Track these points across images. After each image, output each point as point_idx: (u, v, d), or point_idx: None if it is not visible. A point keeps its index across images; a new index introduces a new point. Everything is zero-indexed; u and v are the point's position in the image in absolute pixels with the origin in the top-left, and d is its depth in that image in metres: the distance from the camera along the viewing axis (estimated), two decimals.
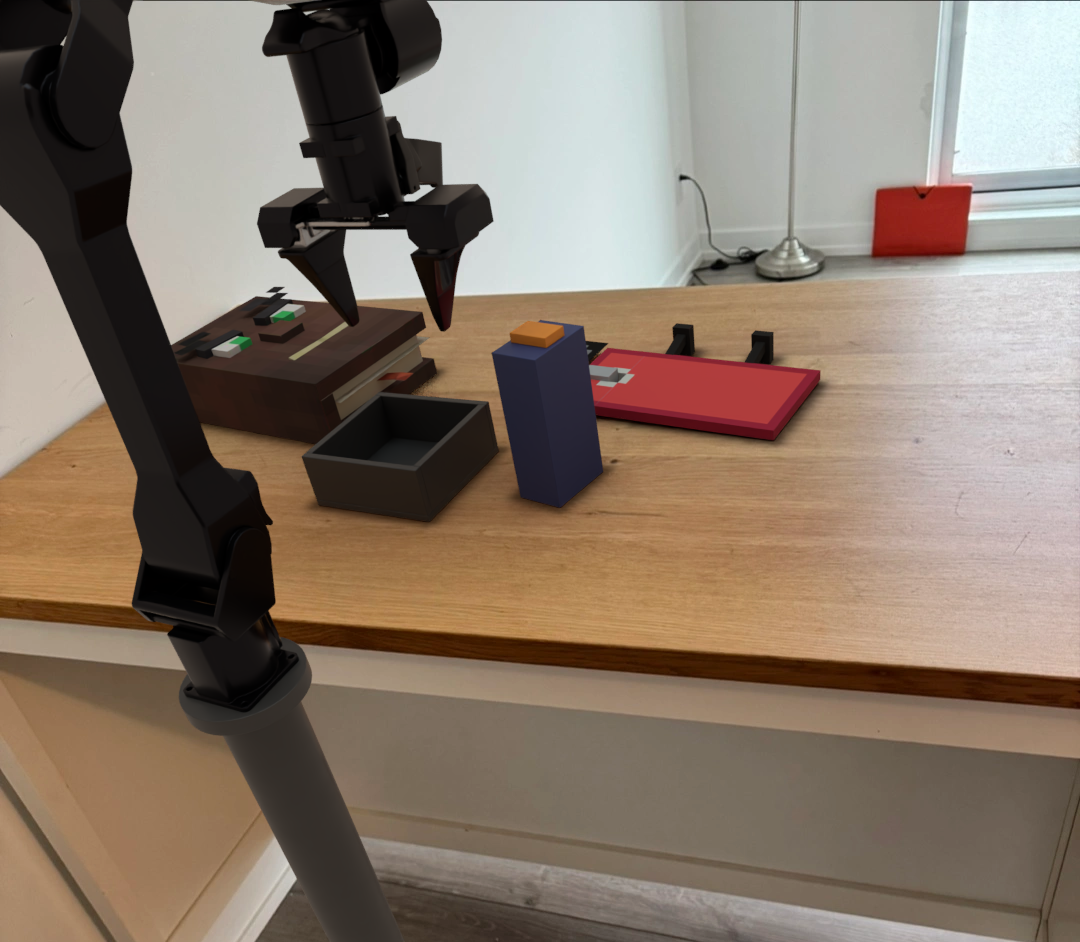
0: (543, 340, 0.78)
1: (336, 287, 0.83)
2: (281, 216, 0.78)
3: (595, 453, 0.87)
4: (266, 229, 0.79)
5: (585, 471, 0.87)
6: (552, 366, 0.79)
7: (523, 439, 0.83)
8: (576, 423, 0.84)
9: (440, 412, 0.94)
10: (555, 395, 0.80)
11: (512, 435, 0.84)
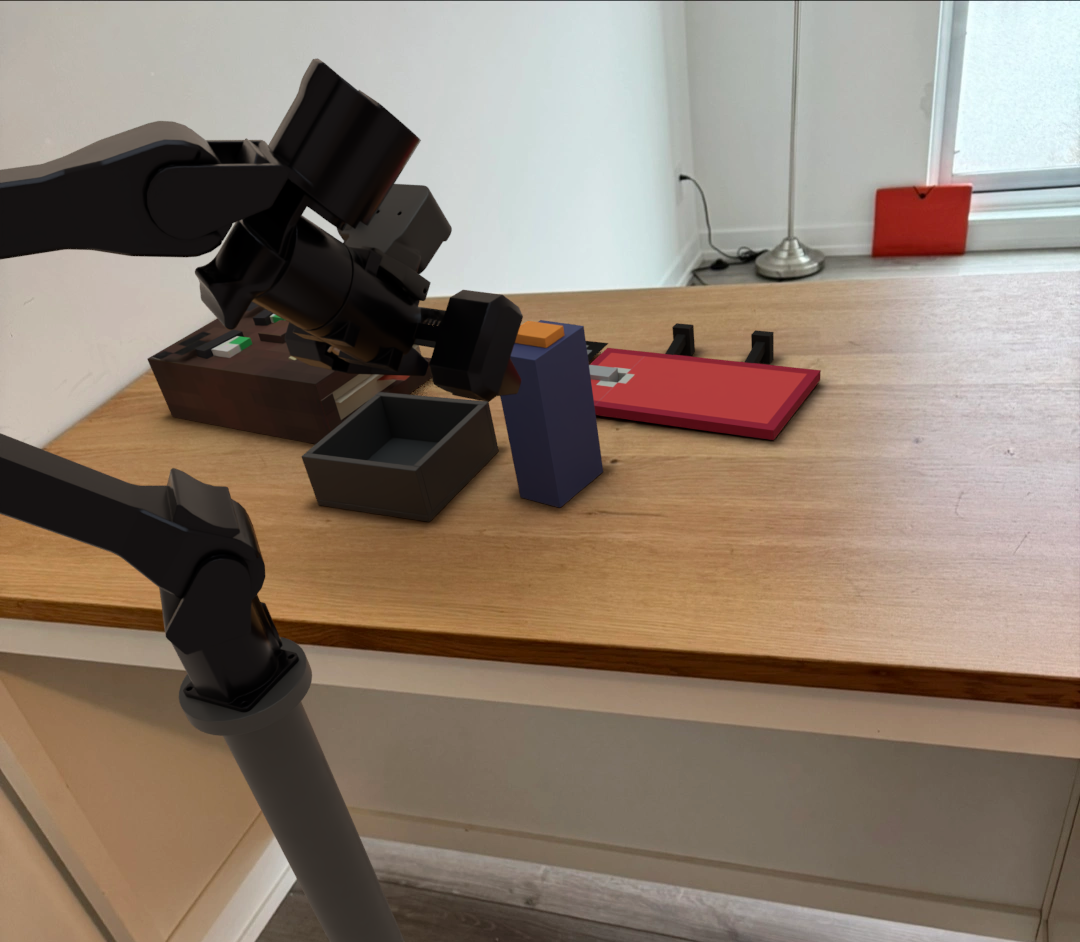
0: (543, 340, 0.78)
1: None
2: (309, 352, 0.71)
3: (595, 453, 0.87)
4: (301, 359, 0.73)
5: (585, 471, 0.87)
6: (552, 366, 0.79)
7: (523, 439, 0.83)
8: (576, 423, 0.84)
9: (440, 412, 0.94)
10: (555, 395, 0.80)
11: (512, 435, 0.84)
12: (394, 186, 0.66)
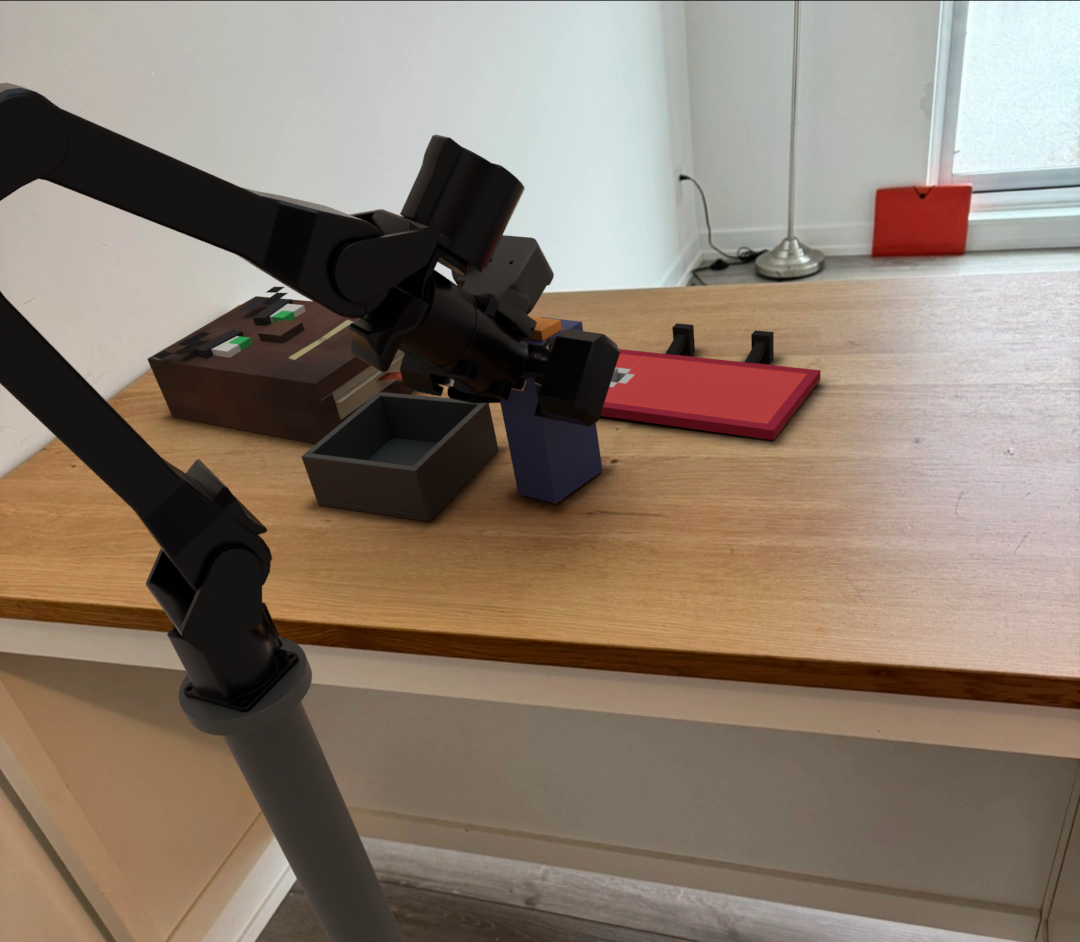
0: (539, 333, 0.79)
1: None
2: (423, 382, 0.81)
3: (594, 451, 0.87)
4: (414, 387, 0.82)
5: (583, 469, 0.87)
6: None
7: (520, 433, 0.84)
8: None
9: (440, 412, 0.94)
10: None
11: (510, 430, 0.84)
12: (504, 237, 0.75)
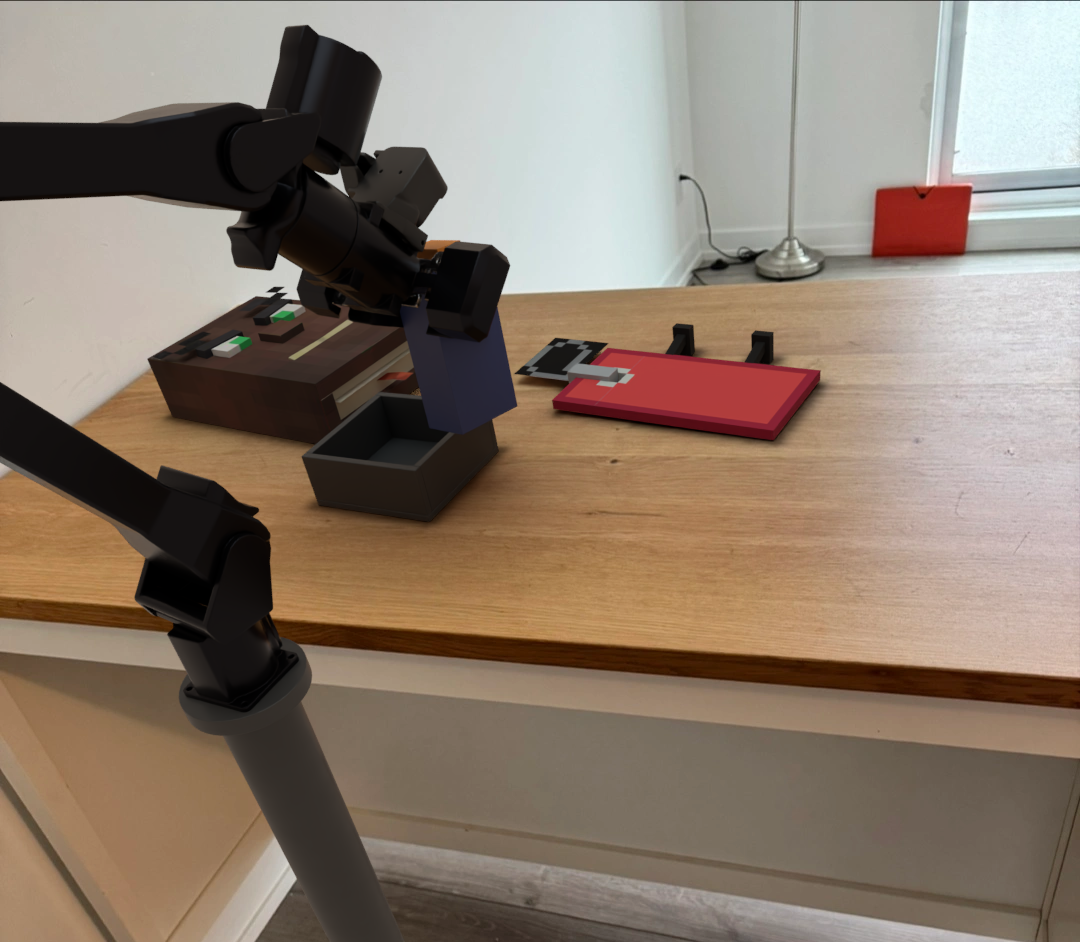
0: (436, 252, 0.77)
1: None
2: (319, 301, 0.79)
3: (506, 383, 0.85)
4: (312, 308, 0.80)
5: (494, 401, 0.85)
6: None
7: (424, 360, 0.82)
8: (480, 346, 0.82)
9: None
10: None
11: (415, 358, 0.82)
12: (396, 148, 0.73)
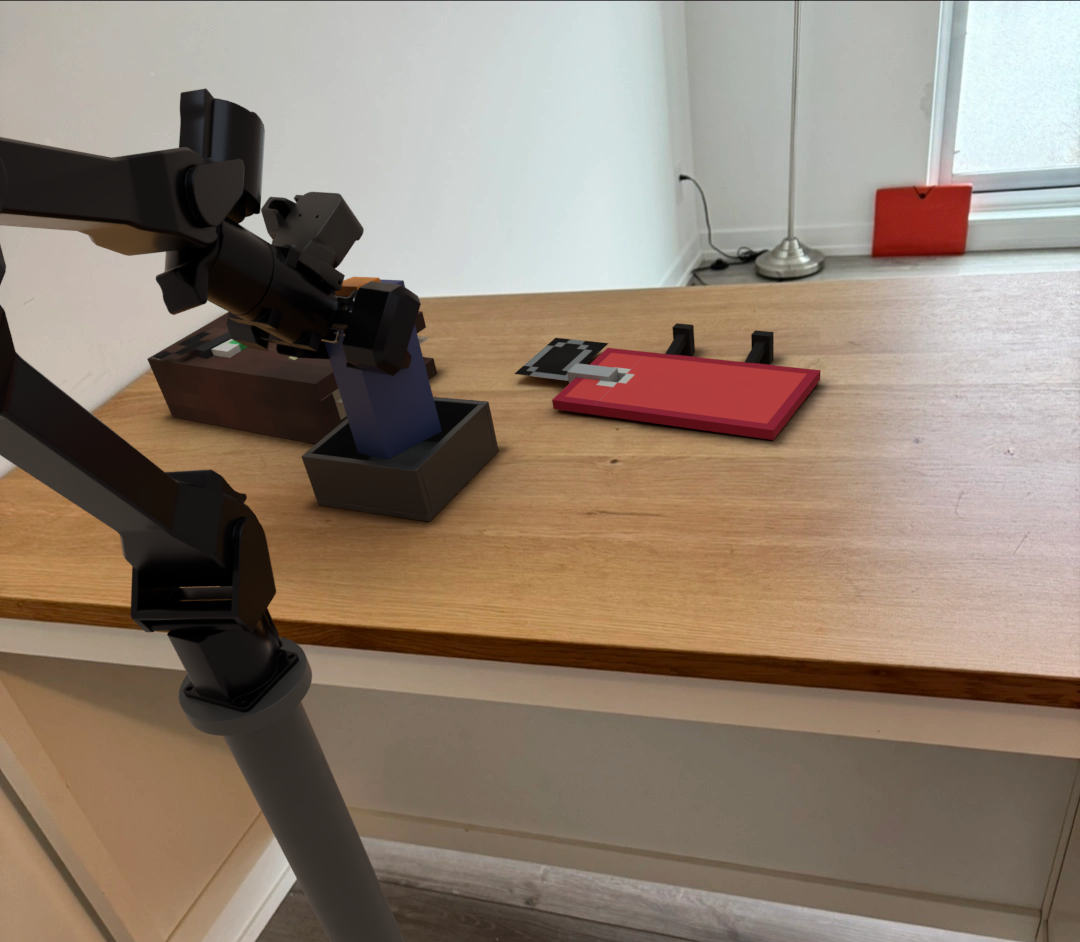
0: (356, 289, 0.81)
1: None
2: (247, 335, 0.83)
3: (429, 410, 0.89)
4: (241, 342, 0.85)
5: (418, 428, 0.89)
6: None
7: (349, 390, 0.86)
8: (402, 376, 0.86)
9: (440, 412, 0.94)
10: None
11: (341, 388, 0.87)
12: (314, 194, 0.78)
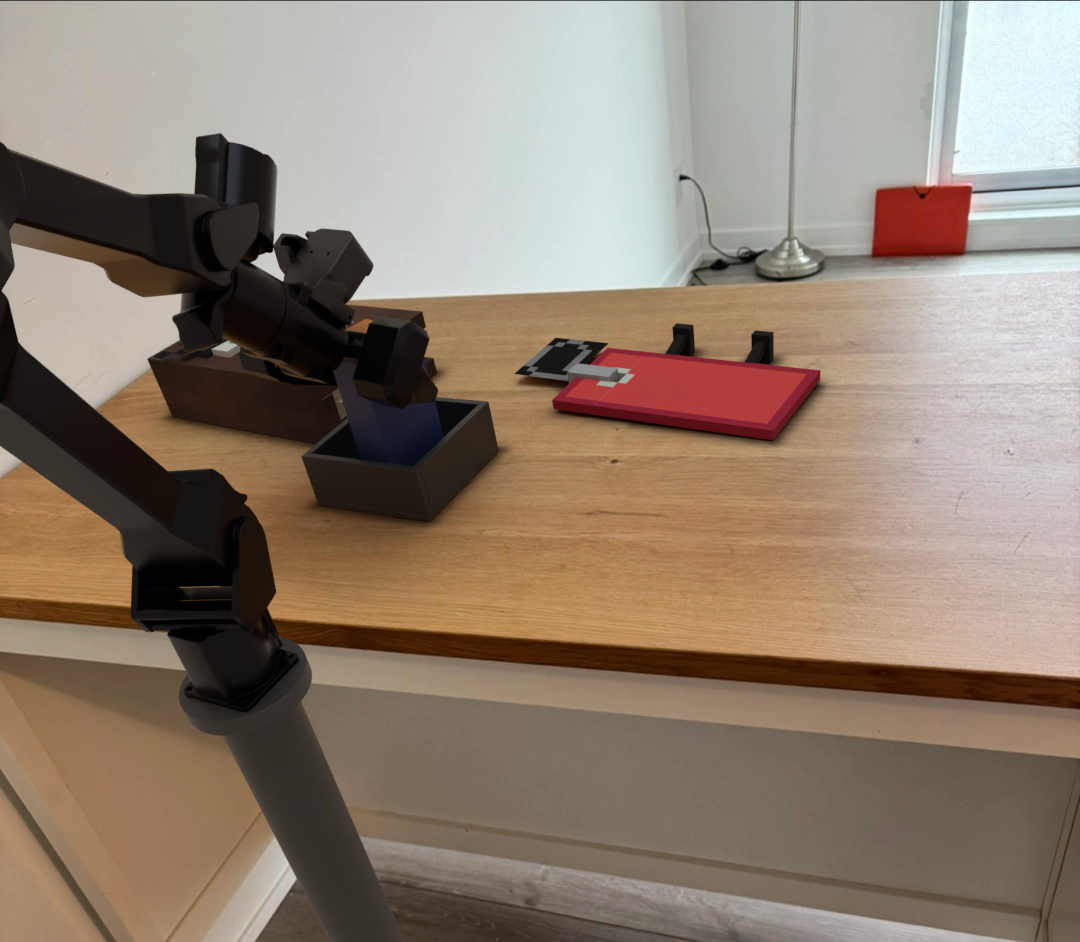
0: None
1: (331, 375, 0.89)
2: (259, 367, 0.85)
3: None
4: (253, 372, 0.87)
5: None
6: None
7: (362, 431, 0.88)
8: (414, 417, 0.88)
9: (440, 412, 0.94)
10: None
11: (353, 427, 0.89)
12: (325, 230, 0.80)
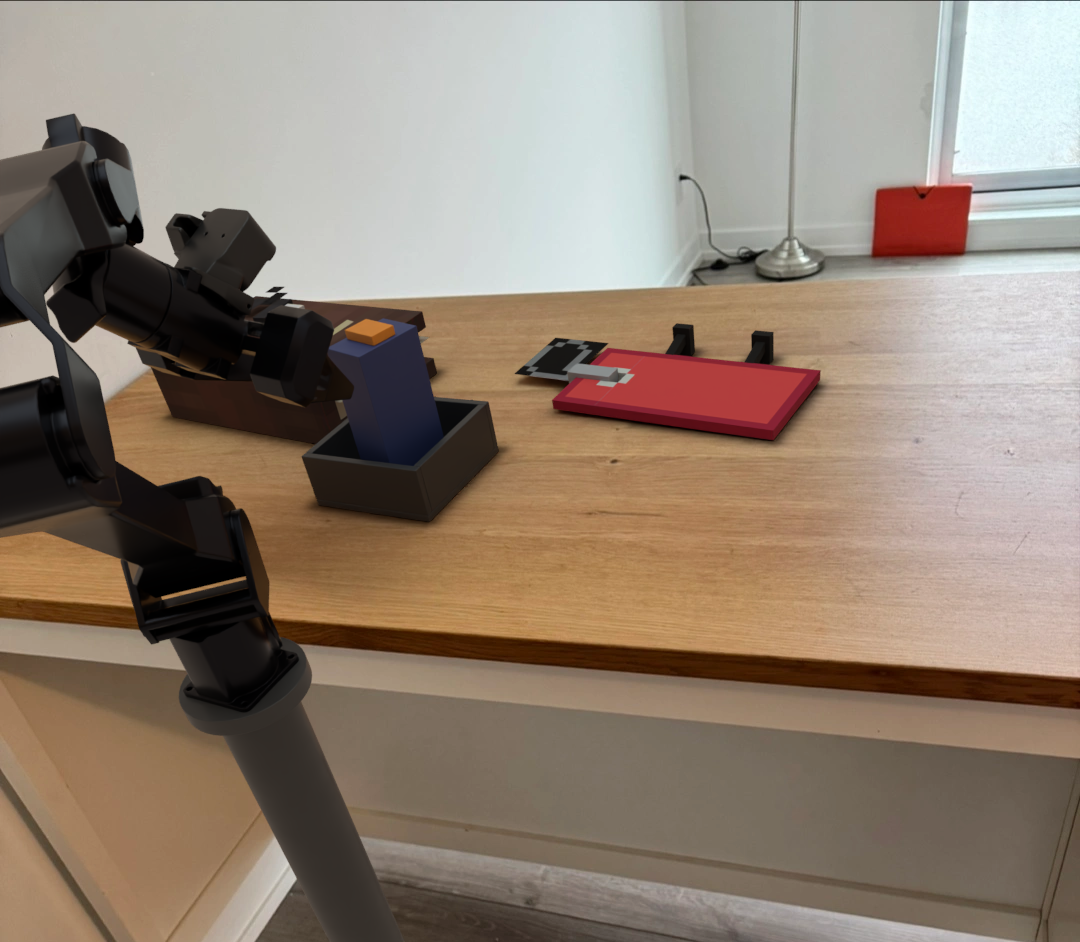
0: (370, 338, 0.83)
1: (240, 369, 0.82)
2: (157, 360, 0.78)
3: None
4: (152, 367, 0.79)
5: None
6: (380, 363, 0.84)
7: (362, 431, 0.88)
8: (414, 417, 0.88)
9: (440, 412, 0.94)
10: (385, 391, 0.85)
11: (353, 427, 0.89)
12: (222, 210, 0.72)
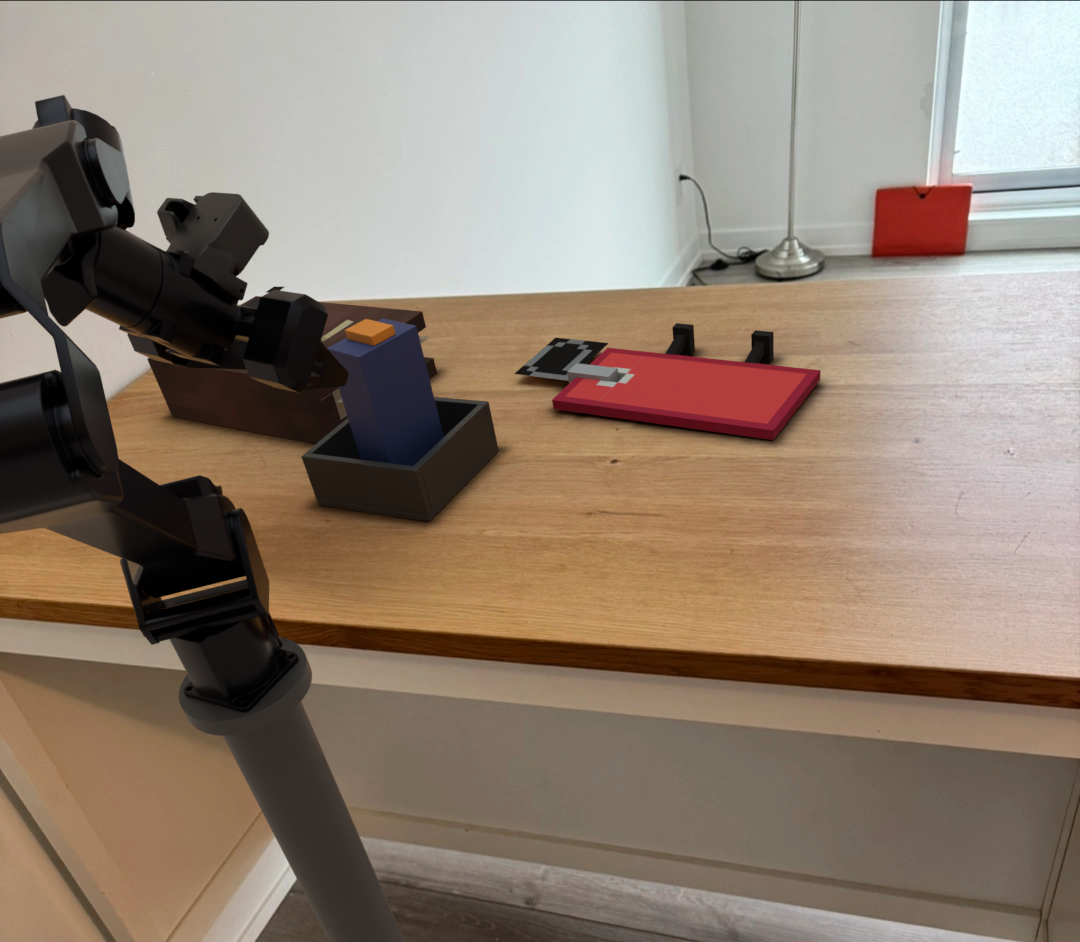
0: (370, 338, 0.83)
1: (234, 357, 0.81)
2: (149, 348, 0.77)
3: None
4: (144, 354, 0.79)
5: None
6: (380, 363, 0.84)
7: (362, 431, 0.88)
8: (414, 417, 0.88)
9: (440, 412, 0.94)
10: (385, 391, 0.85)
11: (353, 427, 0.89)
12: (214, 194, 0.72)
